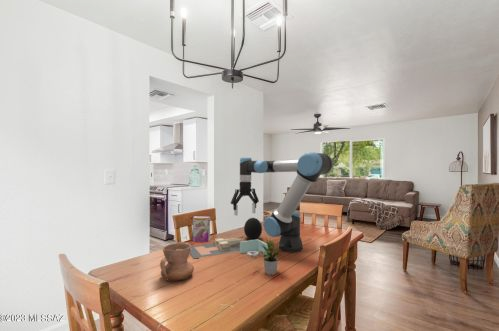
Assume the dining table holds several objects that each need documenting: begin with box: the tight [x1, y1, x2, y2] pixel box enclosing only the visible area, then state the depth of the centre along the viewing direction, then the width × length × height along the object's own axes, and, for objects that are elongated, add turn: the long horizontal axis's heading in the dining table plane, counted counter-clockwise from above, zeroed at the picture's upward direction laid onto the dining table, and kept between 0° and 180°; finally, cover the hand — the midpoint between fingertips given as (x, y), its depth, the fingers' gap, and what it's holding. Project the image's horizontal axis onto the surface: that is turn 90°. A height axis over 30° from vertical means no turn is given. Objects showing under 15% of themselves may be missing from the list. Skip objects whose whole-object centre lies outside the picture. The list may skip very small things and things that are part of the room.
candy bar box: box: [191, 215, 211, 243], centre depth 175 cm, size 11×5×16 cm, turn 84°
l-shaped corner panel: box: [239, 238, 268, 258], centre depth 148 cm, size 12×12×8 cm
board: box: [189, 242, 240, 260], centre depth 159 cm, size 22×36×1 cm, turn 117°
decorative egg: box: [243, 217, 263, 240], centre depth 179 cm, size 12×12×15 cm
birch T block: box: [213, 237, 243, 252], centre depth 162 cm, size 15×15×4 cm
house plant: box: [257, 237, 283, 275], centre depth 125 cm, size 14×14×16 cm
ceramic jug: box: [159, 241, 195, 282], centre depth 118 cm, size 18×14×14 cm
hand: (245, 214), depth 168 cm, fingers open, 13 cm apart
